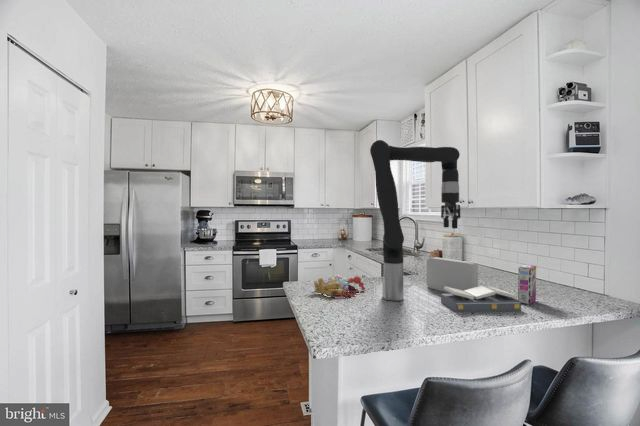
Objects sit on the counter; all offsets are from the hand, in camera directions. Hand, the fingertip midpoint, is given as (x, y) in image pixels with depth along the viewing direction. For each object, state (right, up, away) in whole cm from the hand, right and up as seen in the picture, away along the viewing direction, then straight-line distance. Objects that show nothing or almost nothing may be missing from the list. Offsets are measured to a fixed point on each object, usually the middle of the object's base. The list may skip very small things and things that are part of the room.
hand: (450, 227), depth 145 cm
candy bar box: (+36, -34, +2) cm, 50 cm away
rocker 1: (+1, -28, -6) cm, 29 cm away
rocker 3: (+20, -28, -5) cm, 35 cm away
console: (+10, -34, -6) cm, 36 cm away
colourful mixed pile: (-50, -35, +19) cm, 64 cm away
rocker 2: (+10, -28, -6) cm, 30 cm away
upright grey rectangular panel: (+9, -34, +20) cm, 41 cm away
